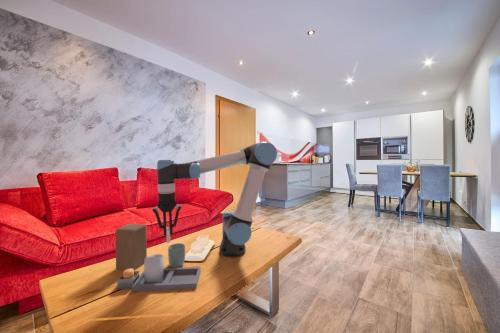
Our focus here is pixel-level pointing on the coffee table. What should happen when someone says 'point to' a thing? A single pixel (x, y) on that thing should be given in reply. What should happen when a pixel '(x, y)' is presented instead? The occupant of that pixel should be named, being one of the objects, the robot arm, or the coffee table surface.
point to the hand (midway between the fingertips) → (168, 241)
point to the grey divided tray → (171, 280)
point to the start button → (128, 273)
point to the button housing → (127, 281)
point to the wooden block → (131, 246)
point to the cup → (176, 255)
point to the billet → (154, 269)
